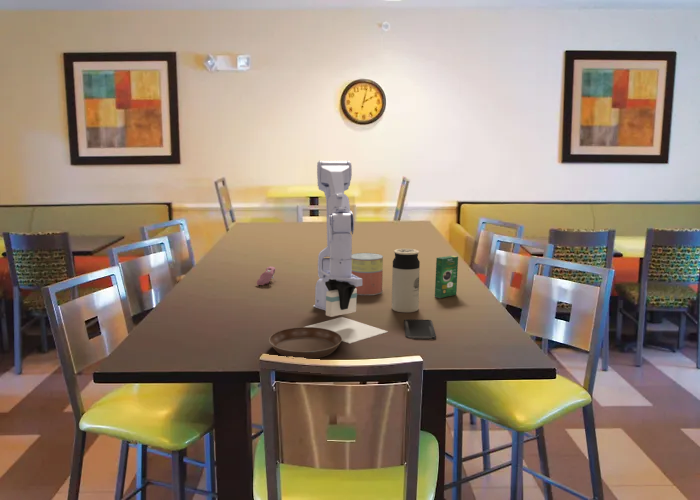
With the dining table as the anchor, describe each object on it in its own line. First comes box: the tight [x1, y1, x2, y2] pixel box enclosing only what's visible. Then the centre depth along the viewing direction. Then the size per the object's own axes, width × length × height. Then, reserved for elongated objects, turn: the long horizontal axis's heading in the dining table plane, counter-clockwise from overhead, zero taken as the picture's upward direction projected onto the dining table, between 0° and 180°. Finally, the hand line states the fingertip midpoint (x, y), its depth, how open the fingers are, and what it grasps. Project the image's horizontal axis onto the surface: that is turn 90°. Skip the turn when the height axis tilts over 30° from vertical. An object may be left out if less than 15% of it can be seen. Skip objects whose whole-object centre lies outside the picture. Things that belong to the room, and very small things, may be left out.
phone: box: [403, 318, 437, 340], centre depth 167 cm, size 8×1×15 cm
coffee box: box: [434, 255, 459, 299], centre depth 202 cm, size 8×3×13 cm, turn 129°
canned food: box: [352, 252, 384, 296], centre depth 208 cm, size 11×11×12 cm
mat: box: [304, 316, 389, 345], centre depth 167 cm, size 18×14×1 cm
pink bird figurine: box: [256, 266, 277, 286], centre depth 219 cm, size 10×5×7 cm, turn 0°
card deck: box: [325, 288, 358, 318], centre depth 167 cm, size 2×9×6 cm, turn 133°
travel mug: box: [391, 248, 421, 314], centre depth 185 cm, size 8×8×18 cm
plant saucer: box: [268, 326, 343, 359], centre depth 152 cm, size 18×18×3 cm
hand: (340, 307), depth 167 cm, fingers closed on card deck, 2 cm apart
